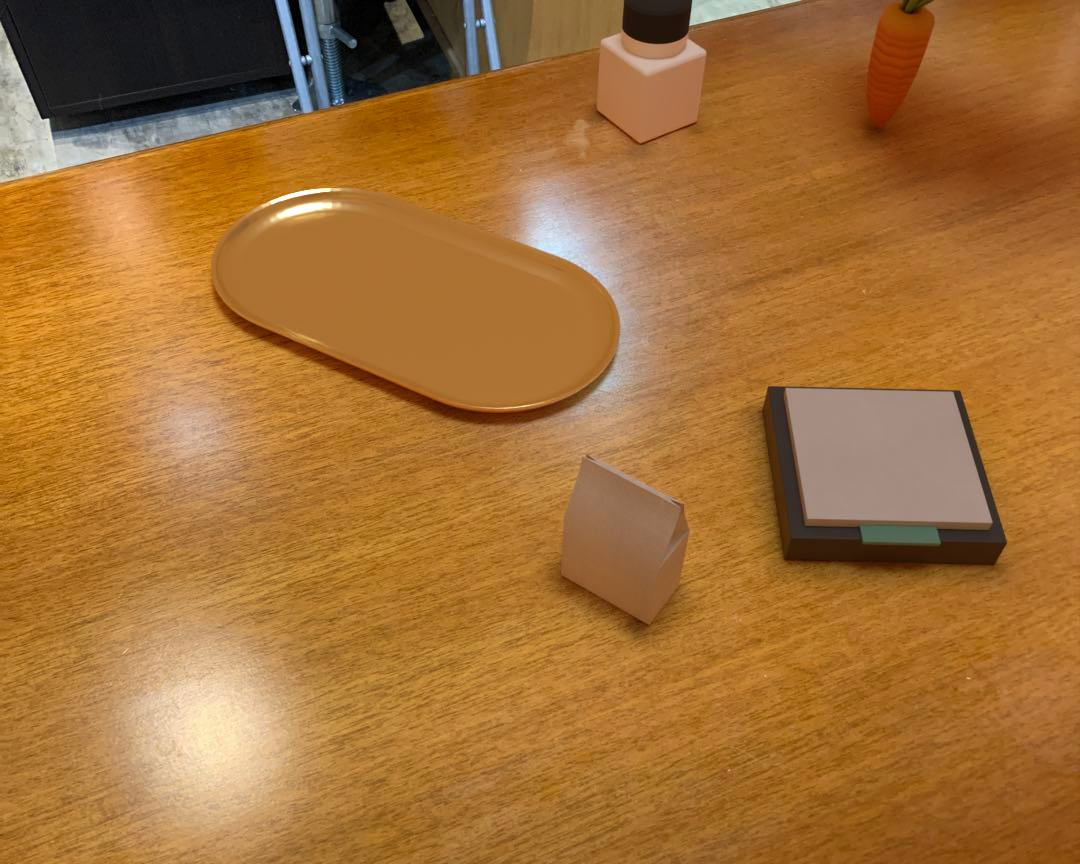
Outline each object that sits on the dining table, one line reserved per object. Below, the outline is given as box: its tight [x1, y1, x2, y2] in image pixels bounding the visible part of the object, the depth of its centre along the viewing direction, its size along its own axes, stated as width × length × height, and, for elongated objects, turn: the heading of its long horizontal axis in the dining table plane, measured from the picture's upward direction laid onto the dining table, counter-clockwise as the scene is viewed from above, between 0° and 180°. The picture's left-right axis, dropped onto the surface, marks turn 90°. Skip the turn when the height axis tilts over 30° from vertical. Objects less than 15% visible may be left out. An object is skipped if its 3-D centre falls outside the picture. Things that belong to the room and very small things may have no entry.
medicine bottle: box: [596, 0, 708, 144], centre depth 100 cm, size 7×7×12 cm
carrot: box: [866, 0, 936, 129], centre depth 98 cm, size 5×5×15 cm
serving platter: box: [210, 187, 621, 414], centre depth 87 cm, size 19×35×2 cm, turn 61°
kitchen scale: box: [762, 385, 1008, 565], centre depth 75 cm, size 14×14×3 cm
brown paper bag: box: [560, 453, 691, 626], centre depth 67 cm, size 4×7×10 cm, turn 55°
